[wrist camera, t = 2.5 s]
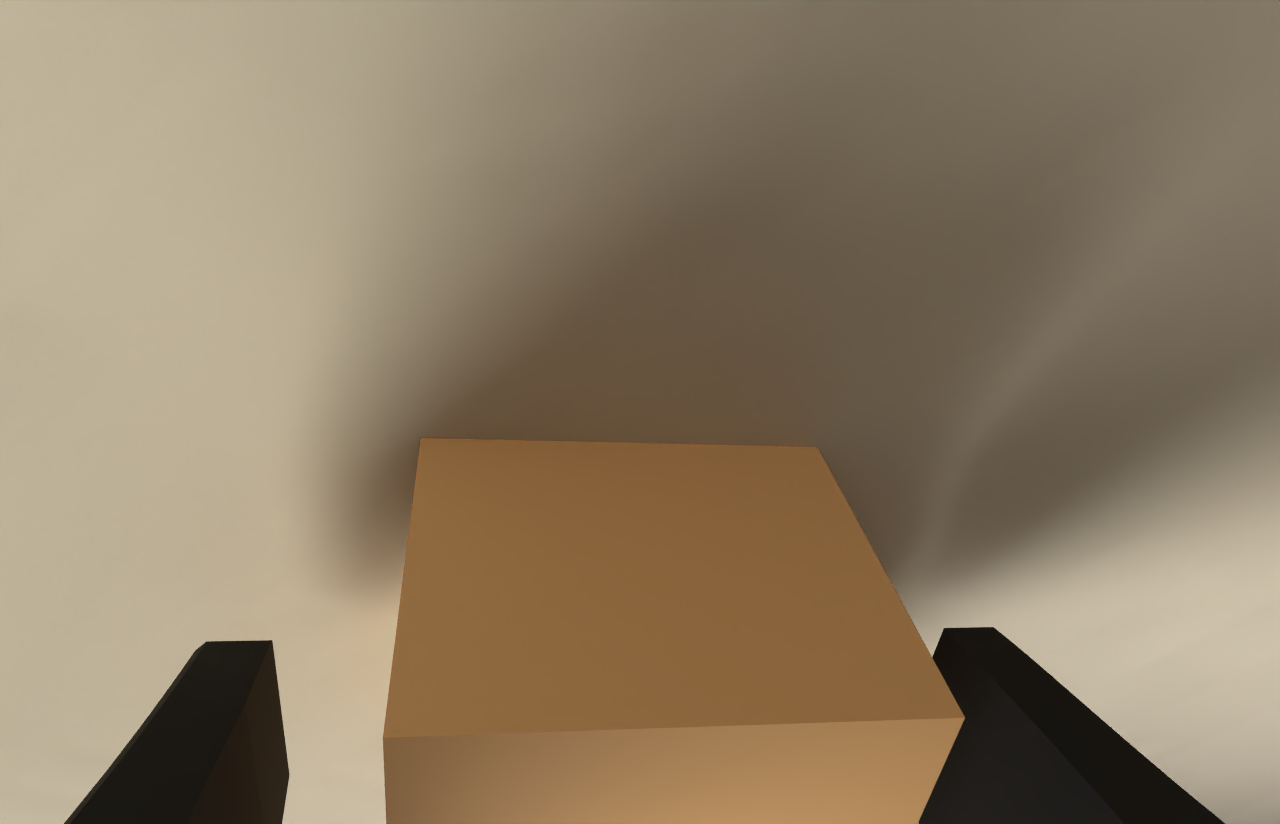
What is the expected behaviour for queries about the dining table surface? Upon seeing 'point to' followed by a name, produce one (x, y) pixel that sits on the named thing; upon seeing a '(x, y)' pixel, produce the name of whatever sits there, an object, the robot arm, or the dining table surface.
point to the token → (652, 644)
